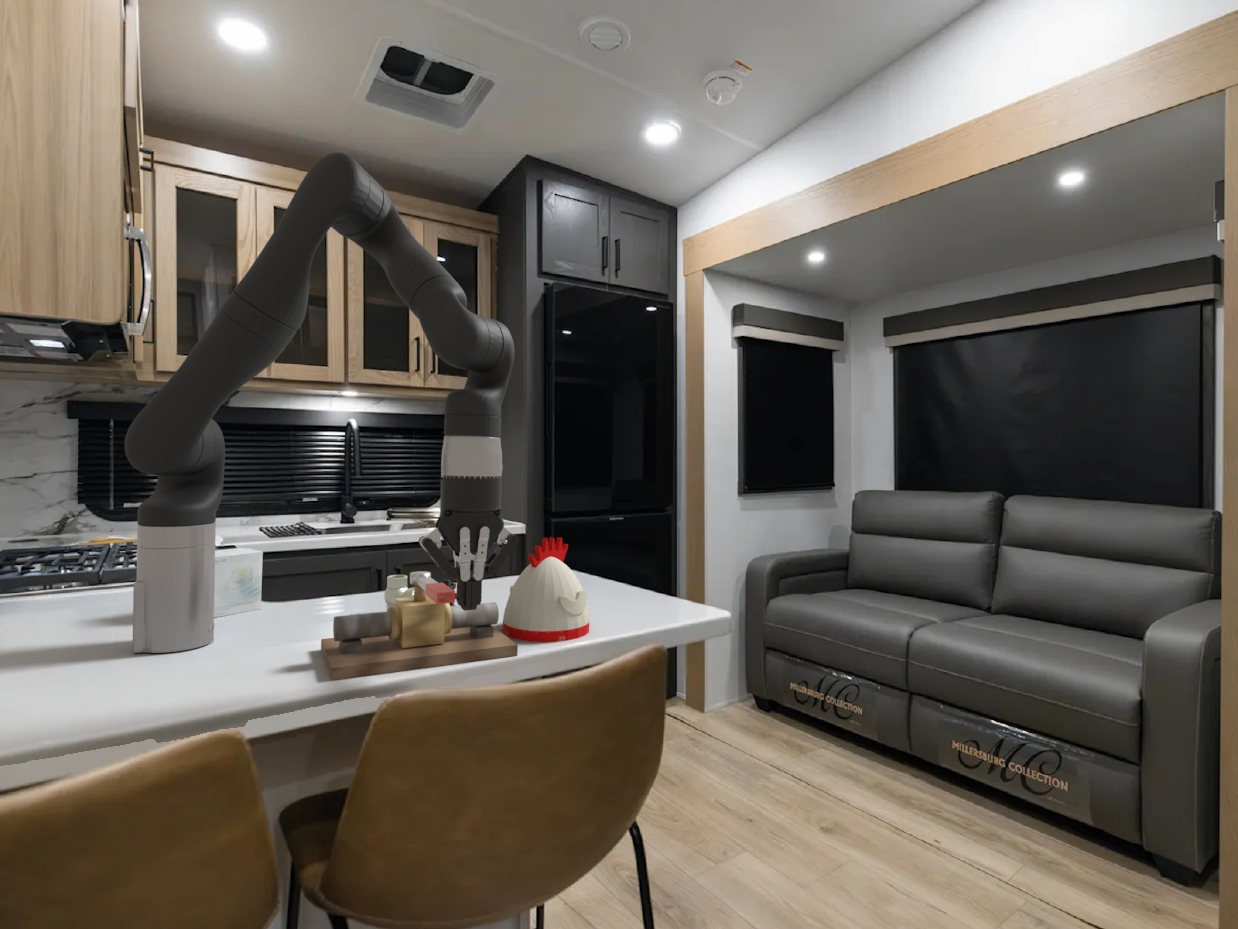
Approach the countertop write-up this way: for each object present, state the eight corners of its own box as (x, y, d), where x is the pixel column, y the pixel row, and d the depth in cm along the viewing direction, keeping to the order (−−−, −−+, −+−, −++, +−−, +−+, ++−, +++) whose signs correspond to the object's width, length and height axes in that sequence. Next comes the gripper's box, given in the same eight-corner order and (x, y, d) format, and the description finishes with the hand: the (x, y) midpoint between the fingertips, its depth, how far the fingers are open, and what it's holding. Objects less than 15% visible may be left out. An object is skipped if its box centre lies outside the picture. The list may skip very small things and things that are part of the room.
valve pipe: (331, 680, 80) (332, 602, 80) (321, 649, 92) (322, 582, 92) (517, 655, 92) (518, 587, 92) (486, 631, 104) (487, 571, 104)
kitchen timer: (606, 630, 107) (608, 538, 107) (545, 648, 96) (548, 545, 96) (546, 615, 115) (548, 530, 115) (484, 630, 105) (486, 536, 105)
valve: (374, 617, 111) (439, 623, 109) (375, 579, 111) (440, 583, 109) (396, 609, 118) (457, 614, 115) (396, 572, 118) (458, 576, 115)
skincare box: (199, 621, 106) (200, 556, 106) (179, 615, 109) (180, 553, 109) (263, 609, 115) (264, 549, 115) (242, 604, 118) (243, 546, 118)
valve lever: (408, 582, 92) (408, 572, 92) (428, 580, 94) (428, 570, 94) (434, 604, 79) (434, 593, 79) (457, 602, 80) (457, 591, 80)
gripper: (511, 472, 90) (508, 599, 90) (412, 471, 83) (408, 607, 83) (531, 474, 83) (528, 610, 83) (425, 473, 77) (422, 621, 77)
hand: (468, 608), depth 83 cm, fingers closed
